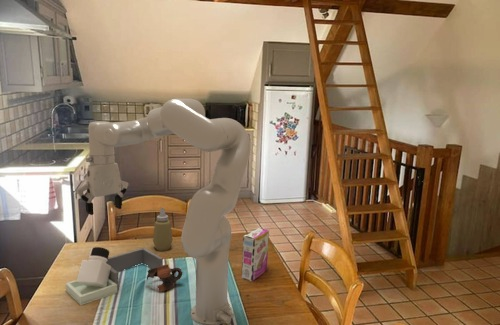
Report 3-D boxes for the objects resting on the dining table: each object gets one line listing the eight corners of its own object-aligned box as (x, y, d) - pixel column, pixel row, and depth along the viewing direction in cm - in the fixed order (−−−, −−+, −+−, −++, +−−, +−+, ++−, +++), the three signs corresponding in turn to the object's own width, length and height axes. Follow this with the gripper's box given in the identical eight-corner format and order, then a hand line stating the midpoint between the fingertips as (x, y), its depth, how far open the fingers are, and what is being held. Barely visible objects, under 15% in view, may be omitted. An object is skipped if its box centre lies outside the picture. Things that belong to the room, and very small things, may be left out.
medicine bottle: (106, 287, 131) (115, 252, 137) (96, 282, 125) (105, 245, 131) (86, 286, 132) (96, 251, 138) (75, 281, 126) (86, 245, 132)
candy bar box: (253, 282, 140) (254, 238, 137) (241, 278, 143) (242, 235, 140) (267, 271, 150) (269, 229, 147) (256, 267, 152) (257, 227, 149)
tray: (117, 292, 130) (117, 284, 130) (80, 305, 122) (80, 297, 122) (101, 279, 139) (100, 272, 138) (65, 291, 130) (65, 283, 130)
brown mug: (150, 295, 129) (144, 270, 131) (151, 294, 138) (145, 271, 140) (186, 283, 132) (179, 259, 134) (184, 283, 141) (178, 261, 143)
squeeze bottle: (176, 247, 169) (176, 207, 166) (163, 254, 162) (162, 211, 159) (162, 243, 173) (162, 204, 170) (149, 249, 166) (148, 208, 163)
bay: (162, 273, 145) (162, 258, 144) (115, 290, 132) (114, 273, 131) (144, 262, 154) (143, 247, 153) (98, 276, 141) (97, 260, 140)
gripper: (80, 164, 119) (83, 219, 122) (132, 158, 131) (134, 208, 134) (70, 161, 124) (73, 213, 127) (121, 155, 136) (122, 203, 139)
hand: (104, 211), depth 130 cm, fingers open, 9 cm apart
